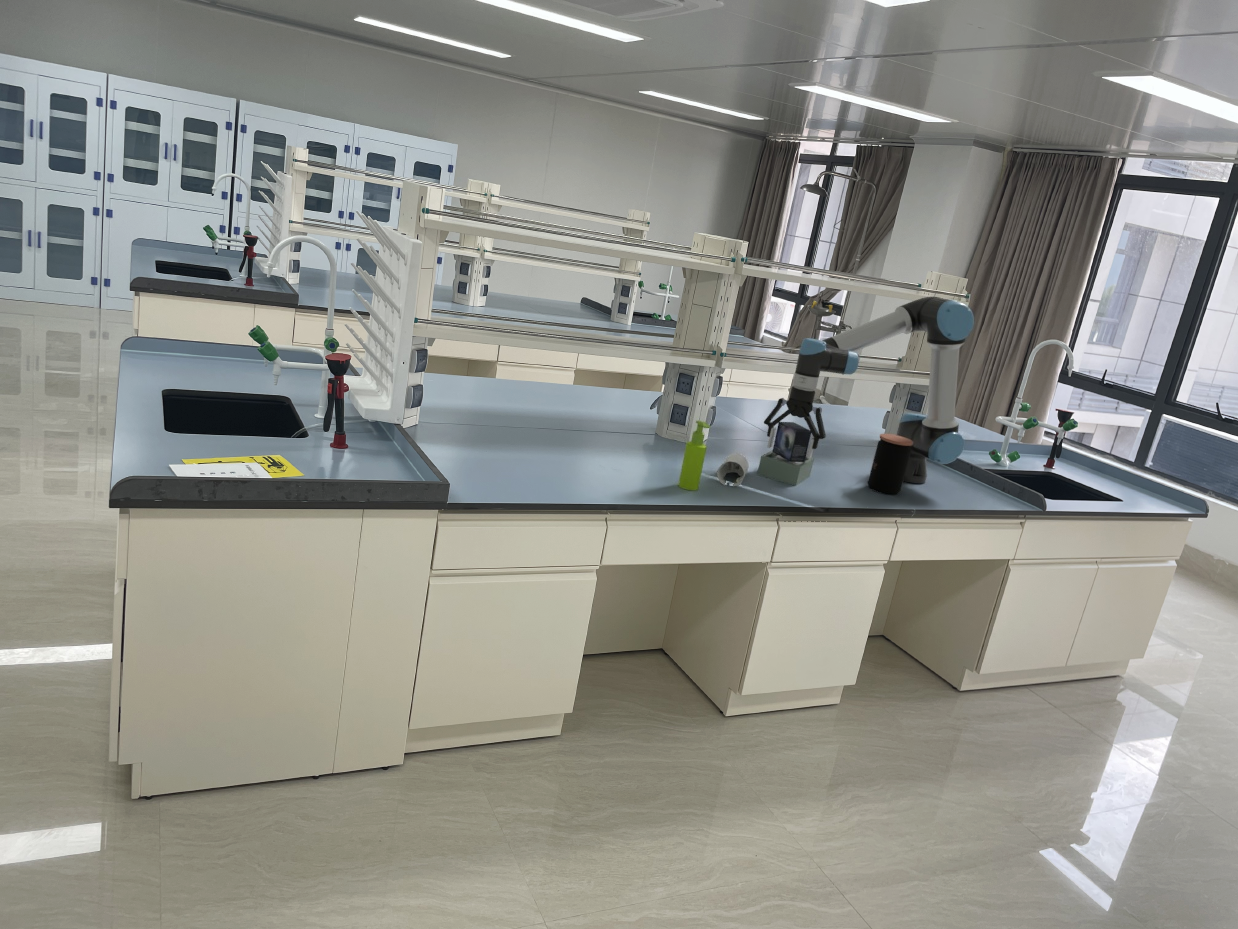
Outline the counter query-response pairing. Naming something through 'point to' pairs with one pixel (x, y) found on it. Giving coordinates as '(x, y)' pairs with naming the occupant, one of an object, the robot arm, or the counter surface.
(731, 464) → the white bottle
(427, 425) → the counter surface
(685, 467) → the soap dispenser
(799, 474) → the box
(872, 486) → the coffee jar
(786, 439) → the small box
